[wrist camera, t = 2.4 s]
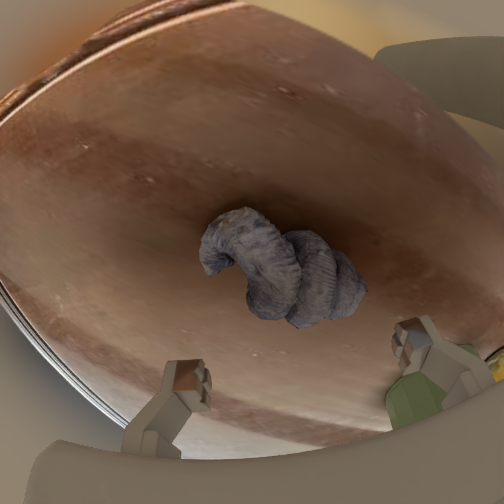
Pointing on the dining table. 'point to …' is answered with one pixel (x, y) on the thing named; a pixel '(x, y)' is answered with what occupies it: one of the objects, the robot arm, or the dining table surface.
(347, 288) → the seashell
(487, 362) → the bread roll
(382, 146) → the dining table surface
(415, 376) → the pot
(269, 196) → the dining table surface
